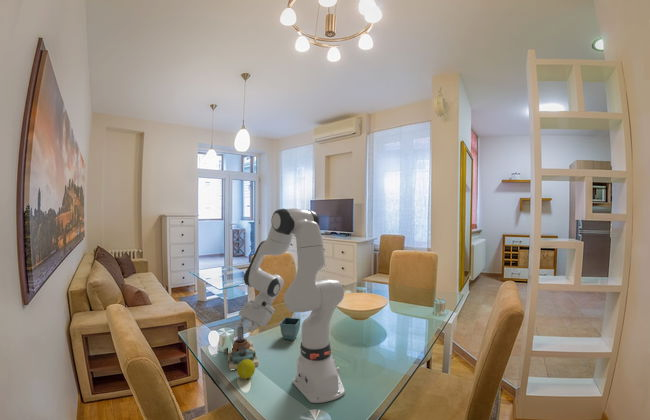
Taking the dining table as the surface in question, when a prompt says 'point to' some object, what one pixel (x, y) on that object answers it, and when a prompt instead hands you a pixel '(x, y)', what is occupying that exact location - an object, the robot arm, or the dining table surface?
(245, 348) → the gear board
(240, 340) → the axle pin
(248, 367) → the tennis ball
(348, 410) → the dining table surface
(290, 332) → the flower pot
